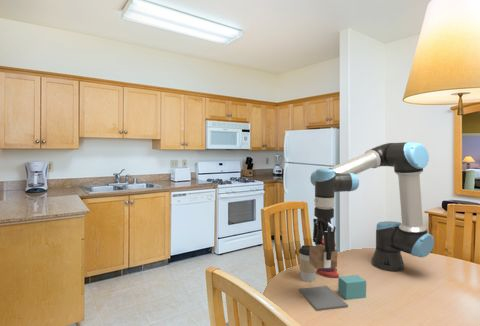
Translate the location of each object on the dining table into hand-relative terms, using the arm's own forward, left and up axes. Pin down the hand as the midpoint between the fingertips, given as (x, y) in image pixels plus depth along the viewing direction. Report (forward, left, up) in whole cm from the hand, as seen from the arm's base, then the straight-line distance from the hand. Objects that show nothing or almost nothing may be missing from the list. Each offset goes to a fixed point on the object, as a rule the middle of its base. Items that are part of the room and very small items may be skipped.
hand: (322, 263), depth 116 cm
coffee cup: (-3, -18, -14) cm, 23 cm away
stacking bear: (-15, -22, -14) cm, 30 cm away
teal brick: (-14, 0, -14) cm, 20 cm away
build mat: (0, 0, -14) cm, 14 cm away
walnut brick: (0, 0, 0) cm, 0 cm away
